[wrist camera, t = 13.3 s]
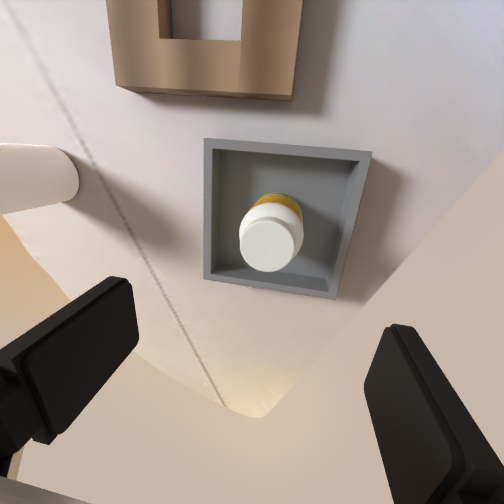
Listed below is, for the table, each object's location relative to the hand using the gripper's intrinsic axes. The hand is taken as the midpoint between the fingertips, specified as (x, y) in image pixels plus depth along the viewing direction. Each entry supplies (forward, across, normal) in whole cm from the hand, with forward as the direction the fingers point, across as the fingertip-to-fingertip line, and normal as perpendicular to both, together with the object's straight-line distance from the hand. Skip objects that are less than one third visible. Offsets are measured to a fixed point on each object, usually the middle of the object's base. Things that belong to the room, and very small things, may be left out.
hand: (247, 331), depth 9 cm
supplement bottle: (+19, 0, 0) cm, 19 cm away
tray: (+19, 0, +1) cm, 19 cm away
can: (+19, +27, -1) cm, 33 cm away
